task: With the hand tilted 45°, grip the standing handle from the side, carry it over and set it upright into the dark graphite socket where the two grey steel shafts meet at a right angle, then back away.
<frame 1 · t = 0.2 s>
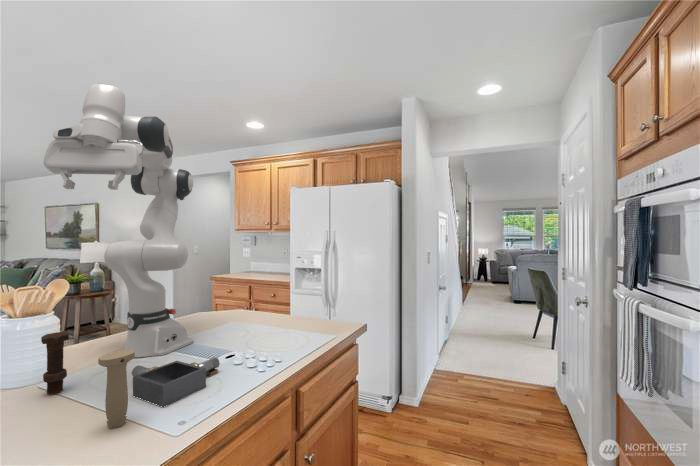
hand: (90, 188, 81), 52 cm above the counter, tool tilted 20°, fingers open, 8 cm apart
bolt: (55, 393, 86), on the counter
handle: (116, 425, 71), on the counter
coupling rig: (170, 391, 86), on the counter
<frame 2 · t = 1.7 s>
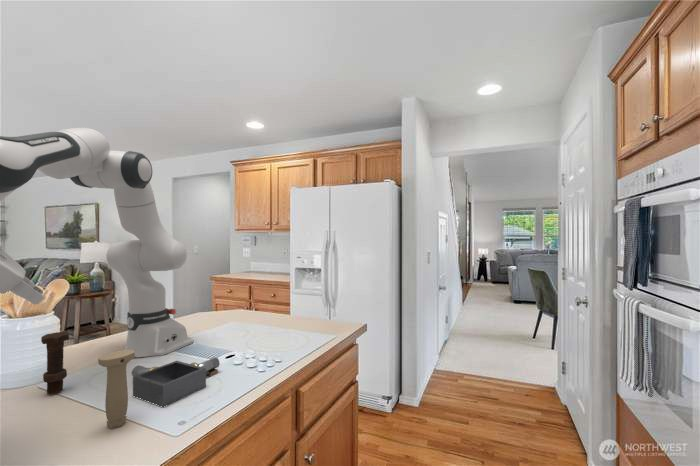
hand: (40, 298, 63), 29 cm above the counter, tool tilted 45°, fingers open, 8 cm apart
nothing on the counter moved.
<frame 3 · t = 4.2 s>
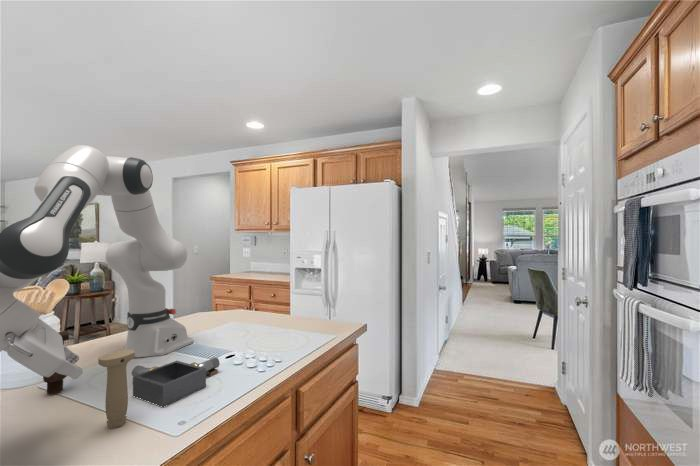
hand: (78, 367, 67), 14 cm above the counter, tool tilted 45°, fingers open, 8 cm apart
nothing on the counter moved.
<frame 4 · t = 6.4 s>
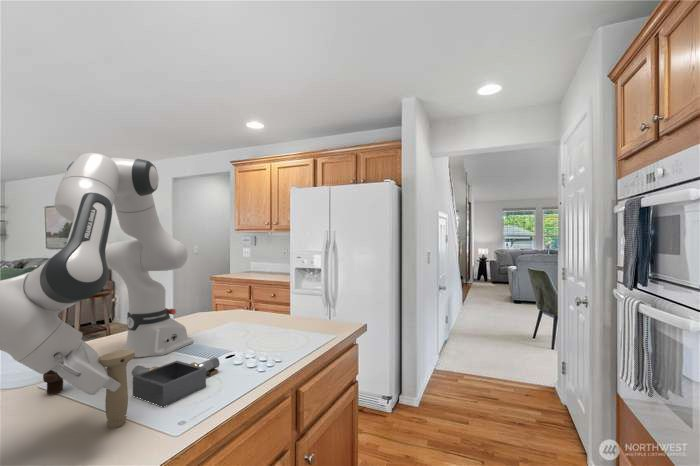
hand: (115, 383, 71), 9 cm above the counter, tool tilted 45°, fingers closed on handle, 3 cm apart
handle: (116, 425, 71), on the counter, touching gripper
everything else where it was.
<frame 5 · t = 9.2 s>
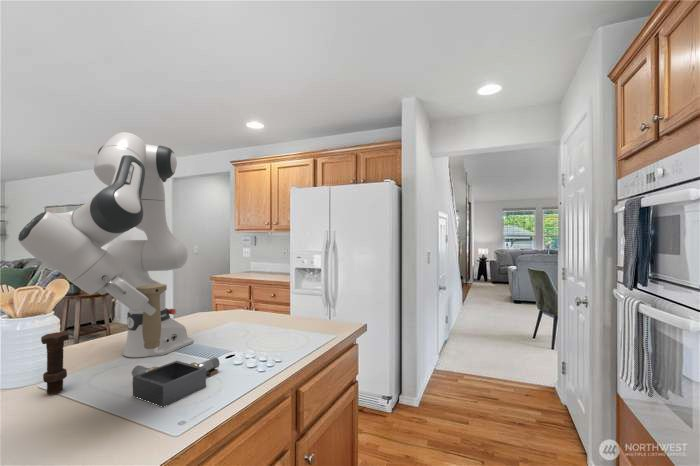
hand: (150, 310, 81), 22 cm above the counter, tool tilted 45°, fingers closed on handle, 3 cm apart
handle: (151, 348, 81), point 13 cm above the counter, touching gripper
everything else where it was.
when the fingers open (10 cm above the counter, at t = 12.1 s): handle drops 1 cm, resting in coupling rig.
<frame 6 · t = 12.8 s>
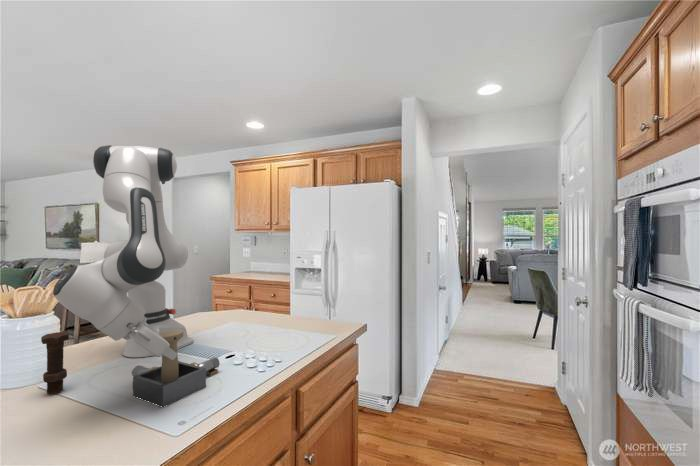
hand: (169, 351, 86), 10 cm above the counter, tool tilted 45°, fingers open, 8 cm apart
handle: (170, 392, 86), resting in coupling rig
everything else where it was.
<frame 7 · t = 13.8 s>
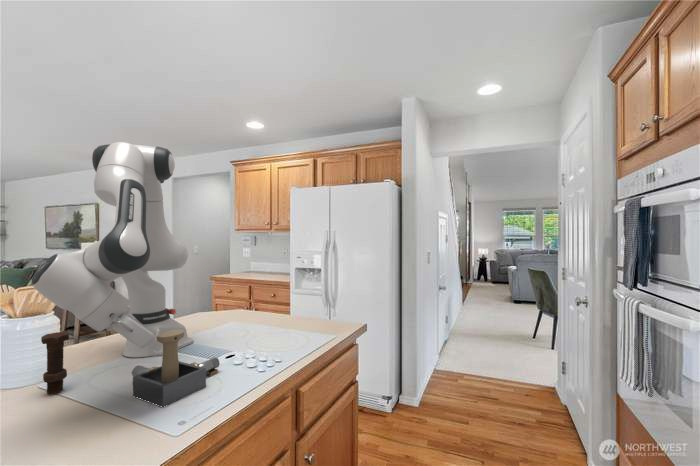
hand: (155, 343, 84), 13 cm above the counter, tool tilted 45°, fingers open, 8 cm apart
nothing on the counter moved.
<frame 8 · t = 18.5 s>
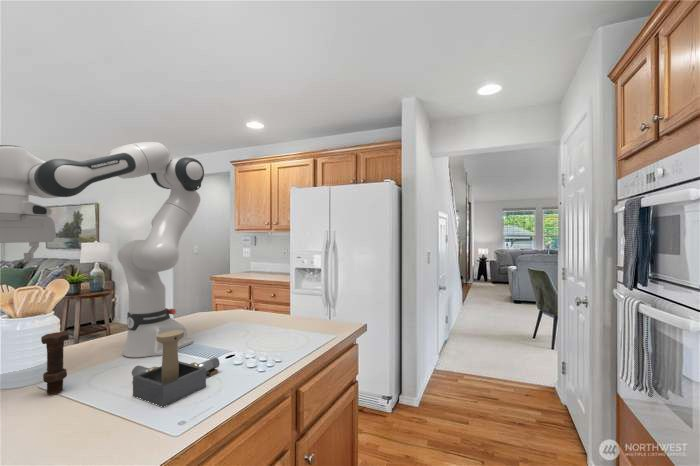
hand: (4, 260, 86), 34 cm above the counter, tool pointing down, fingers open, 8 cm apart
nothing on the counter moved.
at the end: handle 0.1 cm off-centre on the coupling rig, point 0.0 cm above the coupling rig's base; handle tilted 0°; the gripper is holding nothing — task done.
